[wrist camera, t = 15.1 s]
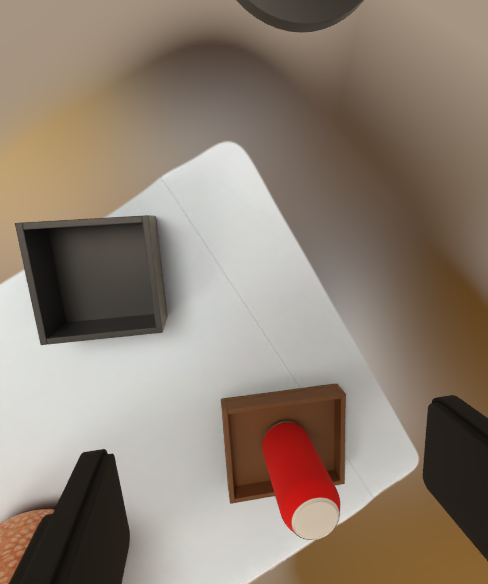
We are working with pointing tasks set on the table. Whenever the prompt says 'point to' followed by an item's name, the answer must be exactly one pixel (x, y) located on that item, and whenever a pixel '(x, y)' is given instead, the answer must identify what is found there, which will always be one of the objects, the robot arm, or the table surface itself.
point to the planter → (17, 540)
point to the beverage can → (300, 481)
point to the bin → (94, 277)
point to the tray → (269, 411)
